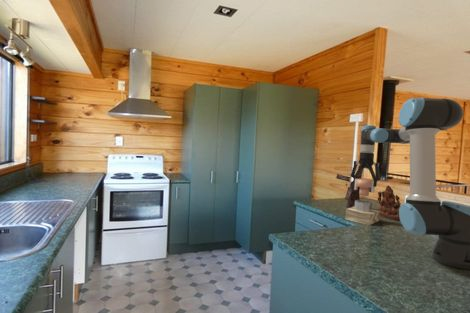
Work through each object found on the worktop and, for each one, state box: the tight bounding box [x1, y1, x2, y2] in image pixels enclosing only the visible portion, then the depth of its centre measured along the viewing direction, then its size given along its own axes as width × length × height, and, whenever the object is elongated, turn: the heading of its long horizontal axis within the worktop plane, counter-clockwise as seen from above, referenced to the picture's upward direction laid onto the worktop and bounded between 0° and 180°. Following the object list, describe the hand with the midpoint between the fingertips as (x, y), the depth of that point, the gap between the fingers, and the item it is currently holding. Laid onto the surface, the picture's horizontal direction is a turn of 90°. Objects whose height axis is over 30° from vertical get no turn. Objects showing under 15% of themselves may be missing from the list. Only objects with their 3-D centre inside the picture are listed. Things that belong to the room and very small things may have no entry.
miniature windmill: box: [335, 164, 372, 209], centre depth 195 cm, size 25×11×30 cm, turn 62°
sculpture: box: [377, 185, 402, 221], centre depth 176 cm, size 17×8×20 cm, turn 22°
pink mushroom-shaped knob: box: [356, 178, 374, 197], centre depth 167 cm, size 9×9×9 cm
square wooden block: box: [344, 206, 381, 226], centre depth 168 cm, size 14×14×6 cm
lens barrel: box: [354, 199, 373, 212], centre depth 167 cm, size 8×8×5 cm
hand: (364, 190), depth 167 cm, fingers closed on pink mushroom-shaped knob, 9 cm apart
